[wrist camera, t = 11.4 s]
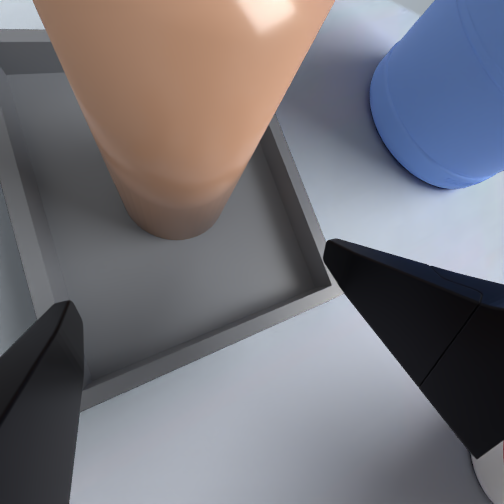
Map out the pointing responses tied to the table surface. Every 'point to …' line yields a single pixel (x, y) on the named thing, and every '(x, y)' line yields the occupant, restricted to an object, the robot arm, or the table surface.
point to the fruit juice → (491, 473)
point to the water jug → (445, 94)
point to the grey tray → (145, 238)
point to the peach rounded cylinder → (179, 93)
